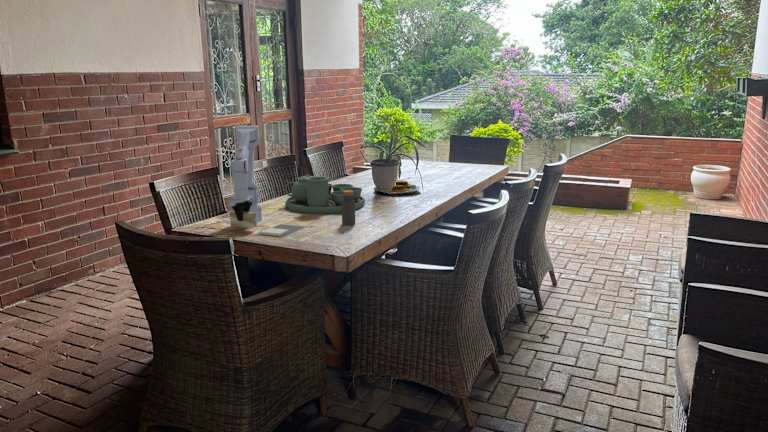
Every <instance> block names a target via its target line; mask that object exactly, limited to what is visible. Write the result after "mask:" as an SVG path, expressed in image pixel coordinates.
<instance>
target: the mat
mask: <svg viewBox="0 0 768 432" xmlns="http://www.w3.org/2000/svg"><path fill="white" fill-rule="evenodd" d="M272 228H276V229H286V230H289V233H287V234H284V235H282V236H280V237H279V236H270V235H261V231H260V232H258V233H255V234H254V236H259V237H261V236H262V237H271V238H278V239H279V238H280V239H282V238H284V237H287V236H289V235H291V234H294V233H296V232H298V231H300V230H302V229H304V228H306V226H303V225H291V224H283V223H281V224H277V225H276V226H273V227H272Z"/></svg>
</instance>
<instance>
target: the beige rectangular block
mask: <svg viewBox="0 0 768 432" xmlns="http://www.w3.org/2000/svg"><path fill="white" fill-rule="evenodd" d="M229 222H230V223H229V224H230V227H238V228H239V227H240V228H249V229H253V228H256V227H257V223H256V213H255V212H244V211H243V221H238V220H237V217H236V214H235V212H234V210H231V211H229Z"/></svg>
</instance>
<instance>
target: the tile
mask: <svg viewBox="0 0 768 432" xmlns="http://www.w3.org/2000/svg"><path fill="white" fill-rule="evenodd" d="M260 232H261V235H270V236H279V237H280V236H282V235H284V234H287V233H289V230H286V229H276V228H273V227H269V228H267V229H264V230H262V231H260Z"/></svg>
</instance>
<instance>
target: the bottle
mask: <svg viewBox="0 0 768 432" xmlns="http://www.w3.org/2000/svg"><path fill="white" fill-rule="evenodd" d="M342 197H343V198H344V200H342V212H341V223H342V226H347V227H351V226H355V225H356V210H355V200H353V197H354V195H353V191H352V190H344V191H343V195H342Z"/></svg>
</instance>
